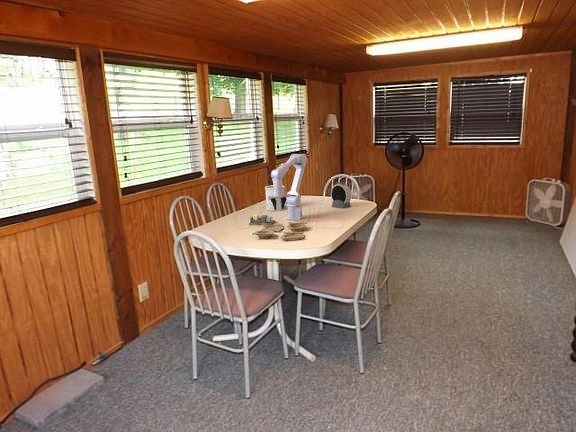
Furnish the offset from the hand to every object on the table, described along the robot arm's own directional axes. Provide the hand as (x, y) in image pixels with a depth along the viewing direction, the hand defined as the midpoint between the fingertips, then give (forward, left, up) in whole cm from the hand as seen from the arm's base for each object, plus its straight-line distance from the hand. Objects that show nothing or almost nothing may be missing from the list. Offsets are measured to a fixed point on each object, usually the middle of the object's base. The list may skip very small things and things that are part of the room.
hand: (279, 209), depth 270 cm
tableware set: (-7, +23, -10) cm, 26 cm away
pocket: (+15, 0, -9) cm, 18 cm away
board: (+12, 0, -9) cm, 15 cm away
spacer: (+16, 0, -8) cm, 18 cm away
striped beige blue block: (+9, 0, -8) cm, 12 cm away
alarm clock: (-34, -54, -10) cm, 65 cm away
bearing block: (+11, 0, -9) cm, 14 cm away
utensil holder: (+14, -44, -10) cm, 47 cm away
